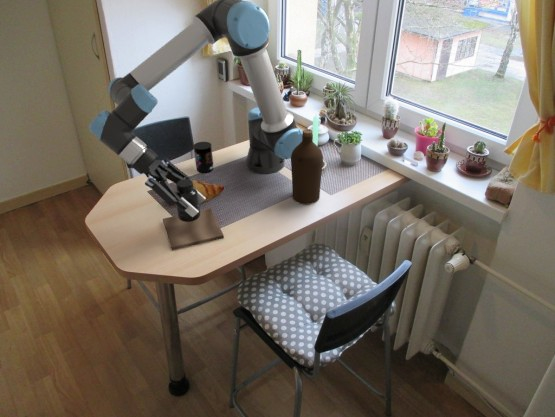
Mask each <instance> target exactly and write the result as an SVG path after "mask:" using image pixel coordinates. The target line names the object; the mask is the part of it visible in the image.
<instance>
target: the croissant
mask: <svg viewBox="0 0 555 417" xmlns="http://www.w3.org/2000/svg"><path fill="white" fill-rule="evenodd" d="M191 181H192V182H193V187H194V188H195V189H197V191H198V192H199V193H201V194H202V195H203V196H204V197H205V198H206V199H205V200H204V201H203V202H202V203H201V204H203V203H206V202H207V201H209V200H212V199H214V198H215V197H217V196H219V195H220V194H221V193H223V191H225V186H224V185H223V184H220V185H219V184H215V183H212V184H210V183H208V182H203V181H200V180H197V179H196V180H191ZM174 191H175V192H176V190H174ZM174 198H175V197H174ZM170 201H171V200H170ZM163 202H164V203H166V202H165V201H164V200H163ZM174 206H176V204H175V205H174Z"/></svg>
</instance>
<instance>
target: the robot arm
mask: <svg viewBox="0 0 555 417" xmlns="http://www.w3.org/2000/svg"><path fill="white" fill-rule="evenodd" d="M270 27H271V26H270V21H269V17H268V15H267V14H266V12H265V11H264V9H263V8H261V7H260V6H258V5H257V4H256V3H254V2H252V1H248V0H215V1H213V2H212V3H210V4H208V5H207V6H206V7H205V8H203V9H202V10H200V12H198V13H197V14H195V15H194V16H193V18H192V22H191V23H190V24H189V25H187V27H185V28H184V29H183V30H181V31H180V32H179V33H178V34H176V35H174V37H173V38H171V39H170V40H169V41H168V42H166V43H165V44H164V45H162V46H161V47H160V48H158V49H157V50H156V51H154V53H153V54H151V55H150V56H149V57H147V58H146V59H144V61H143V62H141V63H140V64H138V65H137V66H136V67H135V68H134V69H132V70H131V71H130V72H128V73H127V74H126V75H125V76H123V77H120V76H119V77H115V78H113V79H112V80H111V81H110V82H109V84H108V88H107V91H108V93H109V96H110V98H111V100H112V102H114V103H115V104H116V105H117V106H116V107H115V108H114V109H113V110H112V111H111V112H110V111H108V110H105V109H104V110H102V111H101V112H99V113H98V115H96V116H95V117H94V118H93V119H92V121H91V122H90V123H89V125H88V130H89V131H90V132H91V134H93V135H94V136H95V137H96V138H97V139H98V140H99V141H100V142H102V144H103V145H105V146H106V147H108V149H110V150H111V151H112V152H114V153H115V154H116V155H117V156H119V157H120V158H121V159H122V160H123V161H125V162H126V164H128V165H131V168H132V169H134V170H135V171H136V172H137V173H138V174H140V175H142V174H144V175H145V176H146V178H147V180H146V181H145V182H144V185H145V186H147V187H149V188H150V189H151V190H152V191H153V192H154V193H156V194H157V195H158V196H159V197H160V199H162V200H163V202H164V201H165V202H164V203H166V204H167V205H168V206H169V207H172V206H176V205H177V206H179V207H180V208H181V209H182V210H184V211H186V212H187V213H188V214H189V215H190V216H192V217H194V216H195V215H196V214H197V213H198V212H199V211H198V210H197V209H196V208H195V207H193V206H192V205H191V204H190V203H189V202H188V201H186V200H185V199H184V198H183V197H182V198H180V197H179V196H178V194H177V193H176V192H175V191H176V190H174V188H173V186H172V185H171V184H170V182H172V183H174V184H176V183H177V182H178V181H180V180H183V179H189V180H191V177H190V176H189V175H187V174H186V173H185V172H184V171H182V170H181V169H180V168H179V167H177V166H176V165H175V164H173V163H172V162H171V161H170V159H169V158H168V157H165V158H164V159H163V160H160V159H158V157H159V155H158V154H157V153H156V152H155V150H153V149H151V148H150V147H147V143H145V142H144V141H143V140H142V139H140V138H139V137H138V136H136V135H135V134H134V133H133V131H134V130H136V128H137V127H138V126H139V125H140V123H142V122H143V121H144V120H145V118H147V116H149V114H150V113H152V111H153V110H154V109H155V107H156V106H157V105H158V98H156V96H154V95H153V94H152V93H151V92H150V91H151V90H152V89H153V88H155V87H156V86H157V85H158V84H160V82H162V81H163V80H164V79H166V78H167V77H168V76H169V75H171V74H172V73H174V71H176V70H177V69H178V68H180V67H181V66H182V65H183V64H184V63H186V62H188V60H189V59H191V58H192V57H194V55H196V54H197V53H198V52H200V51H201V50H202V49H203V48H205V47H206V46H207V45H210V44H211V45H214V44H215V43H217V42H218V41H219V40H221V39H226V40H227V43H228V44H229V48H230V50H231V54H232V55H233V56H234V57H236V58H237V59H238V58H239V60H240V62H241V65H242V68H243V70H244V74H245V75H246V76H245V77H246V78H247V80H248V83H249V84H248V85H249V86H250V89H251V92H252V94H253V97H254V99H255V101H256V105H257V107H256V106H255V107H254V108H252V109H250V110H249V111H248V112H247V121H248V122H247V123H248V138H249V149H248V152H247V155H246V158H245V163H246V164H245V166H246V168H247V169H248V170H249V171H251V172H252V173H256V174H261V175H262V174H263V175H264V174H265V175H266V174H273V173H277V172H279V171H281V170H282V169H283V168H284V167H285V165H286V164H285V163H286V162H285V160H291V155H292V152H293V150H294V148H295V147H296V146H298V145H299V144H300V143H301V142H302V134H303V130H302V129H301V128H298V126H297V123H296V120H295V117H294V114H293V113H291V112H289V111H287V107H286V104H285V102H284V98H283V96H282V93H281V90H280V86H279V83H278V80H277V77H276V75H275V70H274V68H273V65H272V63H271V58H270V56H269V53H268V50H267V47H268V45H269V43H270V39H269V33H270V31H271V30H270ZM168 181H170V182H168ZM196 190H197V189H196ZM197 193H198V200H199V205H201V204H203V203H204V202H203V201H204V200H205V199H206V198H205V197H204V196H203V195H202V194H201V193H199V192H198V191H197ZM174 197H175V198H174ZM170 200H171V201H170ZM202 202H203V203H202ZM175 204H176V205H175Z"/></svg>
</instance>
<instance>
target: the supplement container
mask: <svg viewBox="0 0 555 417" xmlns="http://www.w3.org/2000/svg"><path fill="white" fill-rule="evenodd" d="M193 154H194V161H195V162H194V163H195V168H196V171H197V172H198V173H199V174H210V173H211V172H213V170H214V167H215V166H214V159H213V158H214V157H213V147H212V143H211V142H209V141H199V142H196V143H194V144H193Z"/></svg>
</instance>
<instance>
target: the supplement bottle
mask: <svg viewBox="0 0 555 417" xmlns="http://www.w3.org/2000/svg"><path fill="white" fill-rule="evenodd" d="M192 181H193V180H192V179H190V180H189V179H185V178H184V179H183V180H180V181H178V182H177V183H175V185H176V190H175V191H176V193H177V194H178V196H179V197H180V198H182V197H183V198H184V199H185V200H186V201H188V202H189V203H190V204H191V205H192V206H193V207H195V208H196V209H197V210H198V211H199V212H198V213H197V214H196V215H195V216H194V217H192V216H190V215H189V214H188V213H187V212H186V211H184V210H182V209H181V208H180V207H179V206H177V205H175V206H176V211H177V215H178V217H179V219H180V220H181V221H184V222H192V221H195V220H197V219H198V218H199V216H200V211H201V209H200V204H199V200H198V193H197V190H196V189H195V188H194V187H193V182H192Z"/></svg>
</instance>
